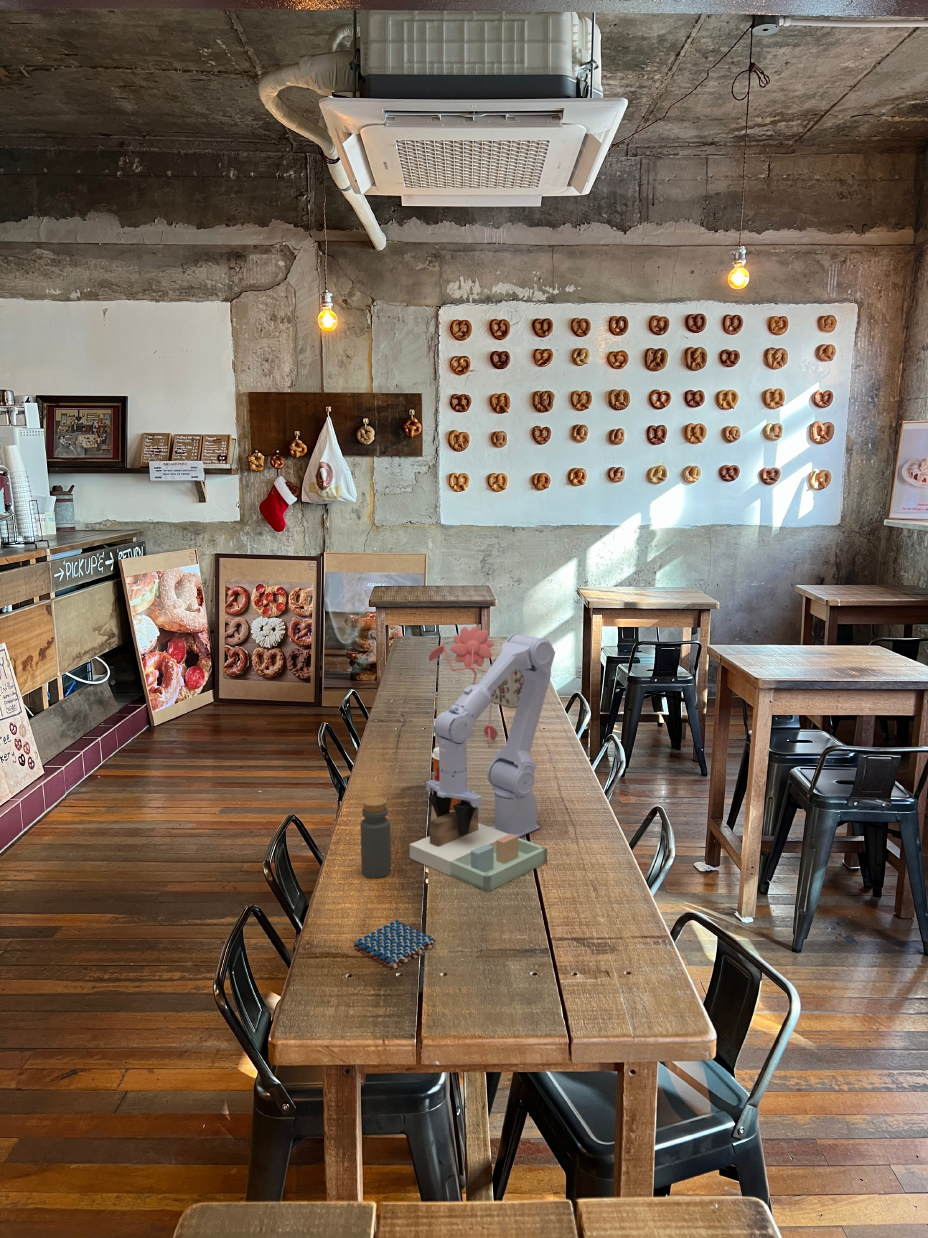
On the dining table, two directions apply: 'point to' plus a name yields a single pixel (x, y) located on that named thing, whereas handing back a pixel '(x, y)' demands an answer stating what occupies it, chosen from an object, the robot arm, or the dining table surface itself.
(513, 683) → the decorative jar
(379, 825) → the bottle
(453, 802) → the paper cup
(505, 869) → the tray
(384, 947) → the woven mat
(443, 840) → the bar
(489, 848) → the tile
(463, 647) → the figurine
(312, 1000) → the dining table surface
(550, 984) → the dining table surface
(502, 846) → the tile
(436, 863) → the bench
